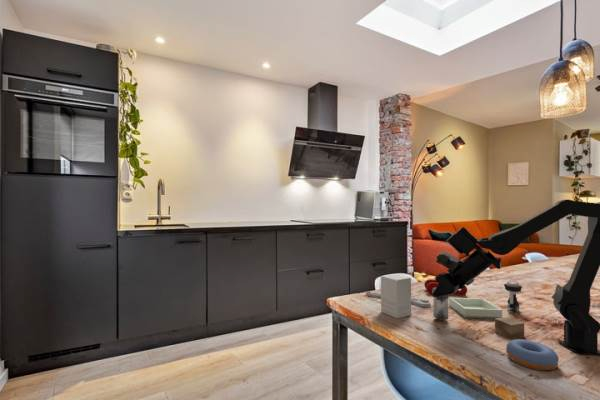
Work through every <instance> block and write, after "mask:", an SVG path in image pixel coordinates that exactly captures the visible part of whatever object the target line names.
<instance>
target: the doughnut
mask: <svg viewBox="0 0 600 400" xmlns="http://www.w3.org/2000/svg"><path fill="white" fill-rule="evenodd" d="M505 347H506V348H505V351H506V353H507V356H508V358H510V359H511V360H512V361H513V362H515V363H516V364H518V365H520V366H523V367H526V368H529V369H532V370H537V371H553V370H554V369H556V368H557V367H558V365H559V355H558V354H557V352H555V351H554V349H552V348H551V347H549V346H547V345H544V344H543V343H540V342H537V341H532V340H531V339H530V340H529V339H520V338H519V339H518V338H516V339H511V340H510V341H508V342H507V344H506V346H505Z"/></svg>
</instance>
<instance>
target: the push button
mask: <svg viewBox="0 0 600 400" xmlns="http://www.w3.org/2000/svg"><path fill="white" fill-rule="evenodd" d="M503 286H504V289H505V290H506V292H508V293H509V297H508V299H507V312H508V313H512V314H514V312H515V313H518V312H520V302H519V301H518V298H517V294H518V293H520V292H522V289H523V286H522V285H520V283H519V282H515V281H507V282H506V283H504V284H503Z"/></svg>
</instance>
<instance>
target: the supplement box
mask: <svg viewBox="0 0 600 400" xmlns="http://www.w3.org/2000/svg"><path fill="white" fill-rule="evenodd" d="M380 294H381V298H380V312H381V313H383V314H386V315H388V316H390V317H393V318H395V319H400V318H404V317H408V316H411V315H412V304H411V298H412V278H411V277H409V276H404V275H401V274H396V273H393V274H386V275H381V276H380Z"/></svg>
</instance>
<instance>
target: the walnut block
mask: <svg viewBox="0 0 600 400" xmlns="http://www.w3.org/2000/svg"><path fill="white" fill-rule="evenodd" d="M494 332H495V333H497V334H499V335H502V336H504V337H506V338H508V339H511V340H515V339H518V338H519V339H520V338H525V322H522V321H520V320H517V319H514V318H512V317H509V316H505V317H503V316H502V318H496V319H494Z"/></svg>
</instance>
